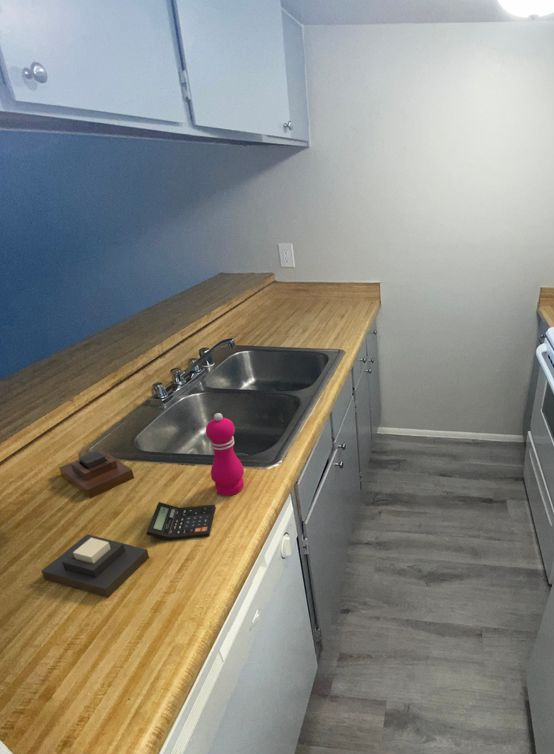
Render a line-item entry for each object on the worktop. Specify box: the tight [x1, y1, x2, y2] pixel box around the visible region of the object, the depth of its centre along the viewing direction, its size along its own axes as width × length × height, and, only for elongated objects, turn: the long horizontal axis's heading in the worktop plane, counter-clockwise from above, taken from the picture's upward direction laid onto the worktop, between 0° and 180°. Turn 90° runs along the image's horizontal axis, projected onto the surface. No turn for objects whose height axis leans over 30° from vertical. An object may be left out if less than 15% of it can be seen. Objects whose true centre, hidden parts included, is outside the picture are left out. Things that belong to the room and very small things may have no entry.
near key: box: [73, 538, 111, 564], centre depth 87 cm, size 4×4×2 cm
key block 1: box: [58, 449, 135, 499], centre depth 112 cm, size 14×10×4 cm
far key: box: [78, 450, 106, 469], centre depth 111 cm, size 4×4×2 cm
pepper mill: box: [205, 412, 245, 497], centre depth 107 cm, size 7×7×20 cm
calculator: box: [145, 501, 216, 541], centre depth 99 cm, size 9×12×3 cm
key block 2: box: [40, 533, 150, 598], centre depth 88 cm, size 14×10×4 cm
